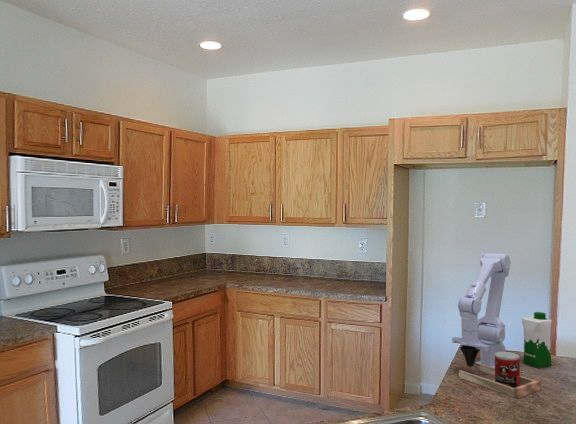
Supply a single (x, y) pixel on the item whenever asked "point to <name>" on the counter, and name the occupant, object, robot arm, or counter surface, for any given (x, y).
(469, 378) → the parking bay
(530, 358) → the milk carton
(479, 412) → the counter surface
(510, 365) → the canned food
